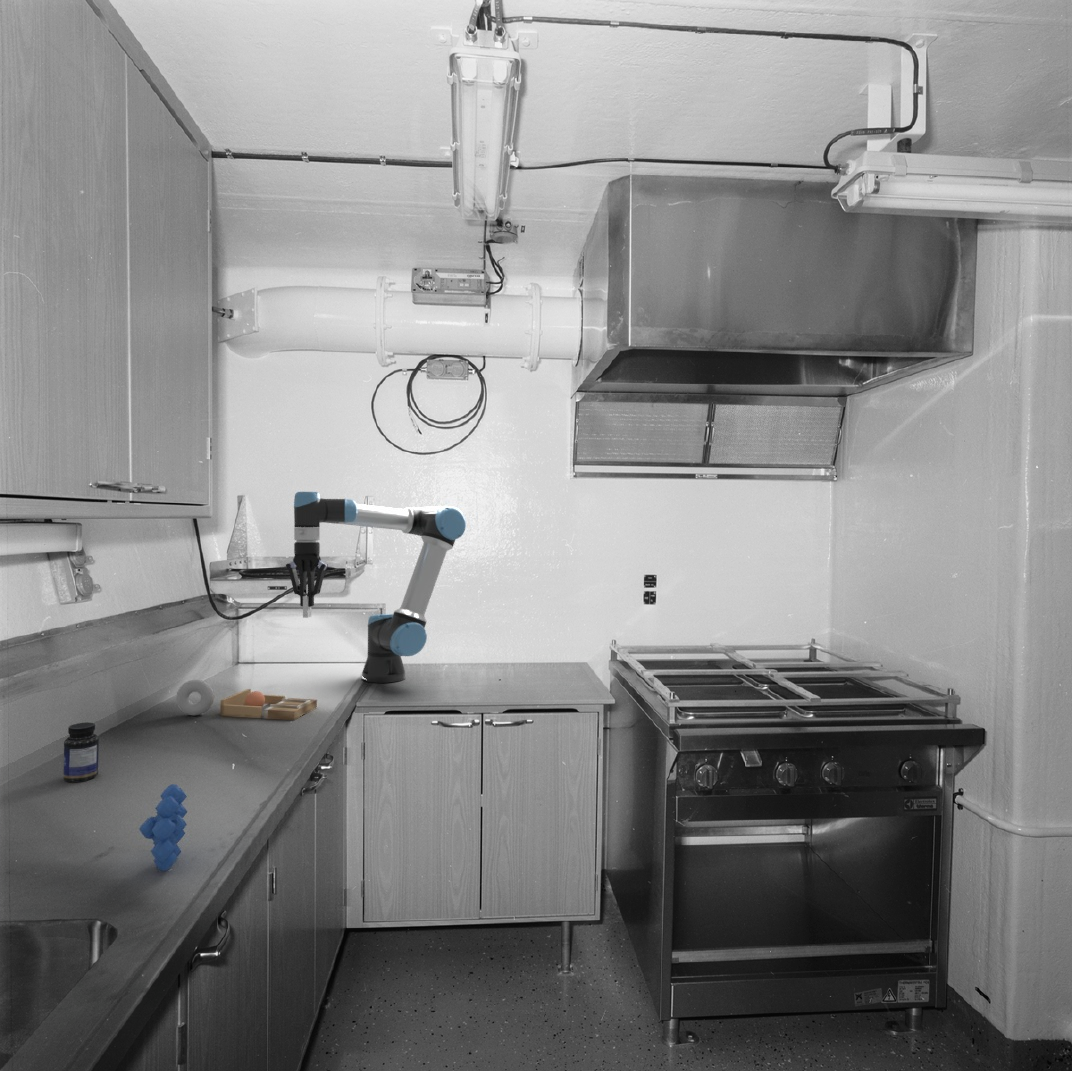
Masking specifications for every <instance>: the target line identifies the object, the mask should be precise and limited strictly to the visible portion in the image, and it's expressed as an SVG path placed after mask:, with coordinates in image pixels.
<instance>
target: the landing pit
mask: <svg viewBox="0 0 1072 1071" xmlns="http://www.w3.org/2000/svg"><path fill="white" fill-rule="evenodd" d="M251 692H252V690H251V688H247V689H244V690H242V691H239V692H237V693H234V694H232V695H229V696H227V697H225V698H222V699H220V701H219V706H220V711H219V716H220V717H235V718H251V719H253V718H254V719H265V718H264V709H266V708H269V707H270V704H277V703H279V702H281V701H282V699H286V695H279V694H278V695H276V694H274V695H273V694H263V695H264V697H265V704H264V706H263V707H262V706H246V705H245V699H246V697H247V695H248V694H249V693H251Z"/></svg>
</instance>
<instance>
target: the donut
mask: <svg viewBox="0 0 1072 1071" xmlns="http://www.w3.org/2000/svg"><path fill="white" fill-rule="evenodd" d="M192 693H198V694H199V695H200V700H199V701H198V702H192V700H190V696H191V695H192ZM214 699H215V693H214V689H213V687H212V686H211V685H210V684H209V683H208V682H206V681H204V680H201V679H193V680H188V681H186V682H184V683H183V684H182V685H181V686H180V687H179V689H178V690H177V692H176V696H175V702H176V705H177V707H178V709H179V710H180V711H181V712H182V713H184V714H185V715H188V716H194V717H195V716H200V715H202V714H205V713H207V711H209V710H210V709H211V707H212V705H213V704H214V701H215V700H214Z"/></svg>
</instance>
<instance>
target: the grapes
mask: <svg viewBox="0 0 1072 1071" xmlns="http://www.w3.org/2000/svg"><path fill="white" fill-rule="evenodd" d="M160 798H161V801H160V802H159V803H158V804H157V805H156V807H155V810H156V812H155V813H156V815H155V816H149V817H147V819H146V820H145V821H144V822H143V823H142V824H141V825H140V827H139V831H140V833H141V834H142V836H143V837H144V838H145V839H147V840H148V839H149V840H152V841H153V842H152V844H153V845H154V846H153V847H152V849H151V850H150V852H151V854H152V856H153V857H154V859H153V862H154V864H155V866H156V868H157V869H158V870H159V871H161V872H163V871H164V872H167V871H168V870H169V869H170V868H172V866H173V865H174V864H175V863H176V862H177V860H178V857H179V856H180V854H181V853H182V850H181V848H180V847H179V845H178V844H179V842H180V841H181V840H182V838H183V837H184V836H185V835H186V832H185V828H186V826H187V822H186V821H185V820H184V818H185V816H186V815H187V813H188V811H187V809H186V807H185V806H184V804H183V802H184V801H185V799H187V794H186V793H185V792H184V790H183V789H182V788H181V787H179V786H178V785H177V784H174V783H172V784H170V785H169V786H167V787H165V789H164V790H163V791H162V793H161V794H160Z"/></svg>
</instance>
